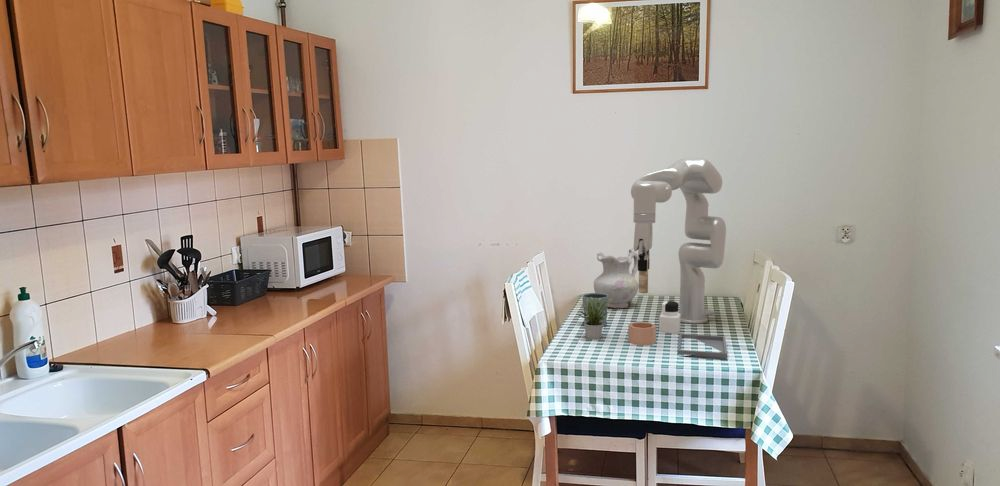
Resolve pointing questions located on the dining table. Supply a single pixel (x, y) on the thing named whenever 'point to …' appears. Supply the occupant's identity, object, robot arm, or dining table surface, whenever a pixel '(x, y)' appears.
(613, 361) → the dining table surface
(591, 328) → the house plant
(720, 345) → the tray
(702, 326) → the dining table surface
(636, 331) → the cup
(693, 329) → the dining table surface
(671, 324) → the medicine bottle
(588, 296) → the blue-grey plant pot
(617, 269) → the ceramic pitcher
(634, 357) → the dining table surface
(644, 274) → the dowel
